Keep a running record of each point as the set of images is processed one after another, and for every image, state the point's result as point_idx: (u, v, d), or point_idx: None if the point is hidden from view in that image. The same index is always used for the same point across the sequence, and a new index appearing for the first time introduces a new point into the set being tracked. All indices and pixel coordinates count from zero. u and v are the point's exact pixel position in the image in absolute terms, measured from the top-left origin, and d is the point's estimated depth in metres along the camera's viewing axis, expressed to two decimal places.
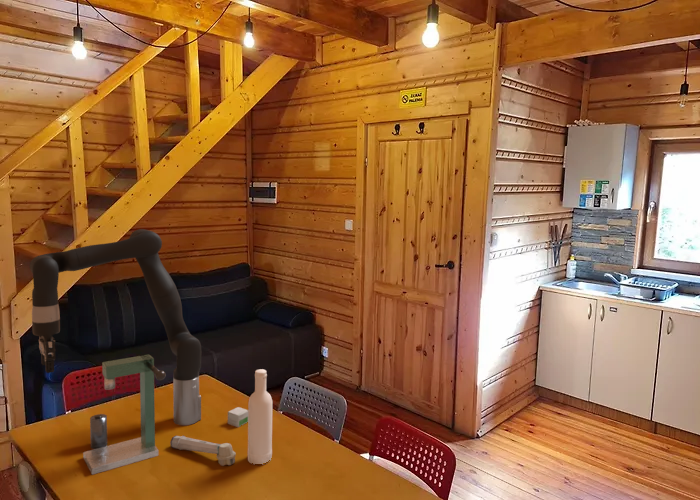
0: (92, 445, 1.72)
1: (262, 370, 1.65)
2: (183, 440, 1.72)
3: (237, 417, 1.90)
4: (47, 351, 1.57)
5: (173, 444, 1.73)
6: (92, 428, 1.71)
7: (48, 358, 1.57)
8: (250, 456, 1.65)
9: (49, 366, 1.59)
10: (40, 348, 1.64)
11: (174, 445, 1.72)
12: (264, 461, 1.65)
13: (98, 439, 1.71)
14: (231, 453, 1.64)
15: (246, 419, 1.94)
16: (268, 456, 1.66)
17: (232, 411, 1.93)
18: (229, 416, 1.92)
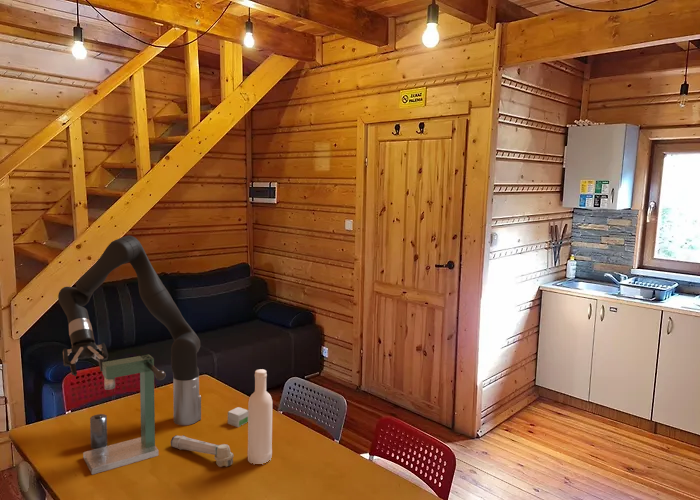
0: (92, 445, 1.72)
1: (262, 370, 1.65)
2: (183, 440, 1.72)
3: (237, 417, 1.90)
4: (63, 358, 1.81)
5: (173, 444, 1.73)
6: (92, 428, 1.71)
7: (64, 363, 1.79)
8: (250, 456, 1.65)
9: (71, 370, 1.79)
10: (93, 358, 1.86)
11: (174, 445, 1.73)
12: (264, 461, 1.65)
13: (98, 439, 1.71)
14: (229, 454, 1.64)
15: (246, 419, 1.94)
16: (268, 456, 1.66)
17: (232, 411, 1.93)
18: (229, 416, 1.92)
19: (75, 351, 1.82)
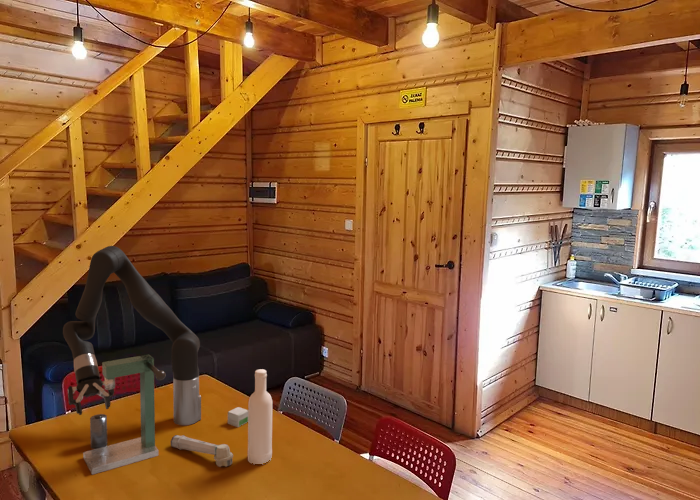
0: (92, 445, 1.72)
1: (262, 370, 1.65)
2: (183, 440, 1.72)
3: (237, 417, 1.90)
4: (68, 396, 1.77)
5: (173, 443, 1.73)
6: (92, 428, 1.71)
7: None
8: (250, 456, 1.65)
9: (76, 409, 1.75)
10: (99, 395, 1.83)
11: (174, 444, 1.73)
12: (264, 461, 1.65)
13: (98, 439, 1.71)
14: (228, 454, 1.64)
15: (246, 419, 1.94)
16: (268, 456, 1.66)
17: (232, 411, 1.93)
18: (229, 416, 1.92)
19: (80, 389, 1.79)
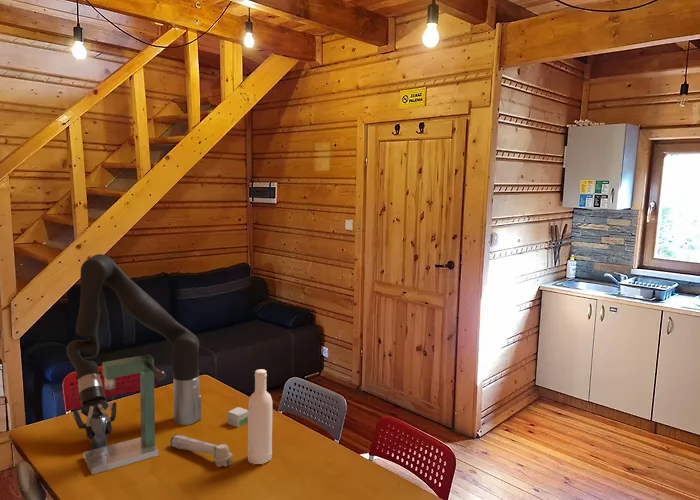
0: (92, 445, 1.72)
1: (262, 370, 1.65)
2: (182, 440, 1.72)
3: (237, 417, 1.90)
4: None
5: (173, 443, 1.73)
6: (92, 428, 1.71)
7: (78, 426, 1.71)
8: (250, 456, 1.65)
9: (86, 433, 1.71)
10: None
11: (174, 444, 1.73)
12: (264, 461, 1.65)
13: (98, 439, 1.71)
14: (228, 455, 1.63)
15: (246, 419, 1.94)
16: (268, 456, 1.66)
17: (232, 411, 1.93)
18: (229, 416, 1.92)
19: (86, 410, 1.74)
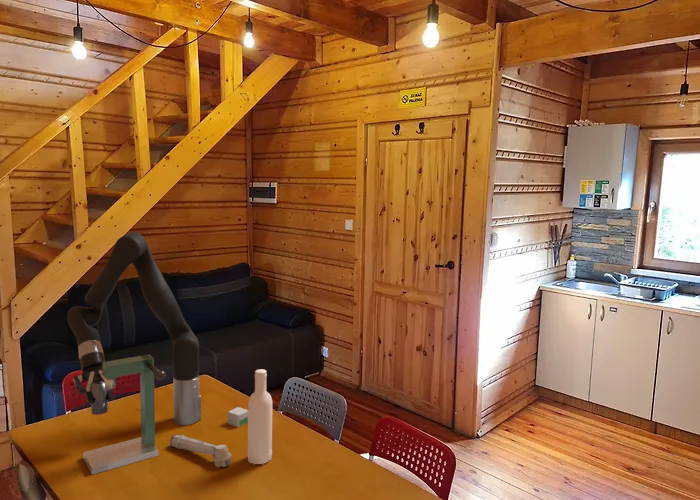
0: (92, 411, 1.69)
1: (262, 370, 1.65)
2: (182, 440, 1.72)
3: (237, 417, 1.90)
4: (76, 386, 1.70)
5: (172, 443, 1.73)
6: (92, 393, 1.68)
7: (79, 391, 1.69)
8: (250, 456, 1.65)
9: (86, 398, 1.68)
10: None
11: (173, 444, 1.73)
12: (264, 461, 1.65)
13: (98, 404, 1.69)
14: (226, 455, 1.63)
15: (246, 419, 1.94)
16: (268, 456, 1.66)
17: (232, 411, 1.93)
18: (229, 416, 1.92)
19: (86, 376, 1.71)
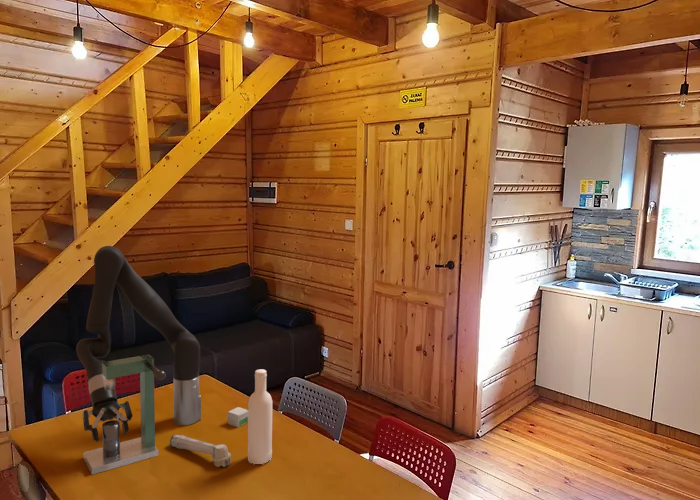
0: (104, 453, 1.63)
1: (262, 370, 1.65)
2: (182, 439, 1.72)
3: (237, 417, 1.90)
4: (83, 421, 1.63)
5: (172, 443, 1.73)
6: (104, 435, 1.62)
7: (84, 428, 1.62)
8: (250, 456, 1.65)
9: (92, 435, 1.61)
10: (116, 419, 1.69)
11: (173, 444, 1.73)
12: (264, 461, 1.65)
13: (110, 446, 1.62)
14: (226, 455, 1.63)
15: (246, 419, 1.94)
16: (268, 456, 1.66)
17: (232, 411, 1.93)
18: (229, 416, 1.92)
19: (96, 413, 1.65)
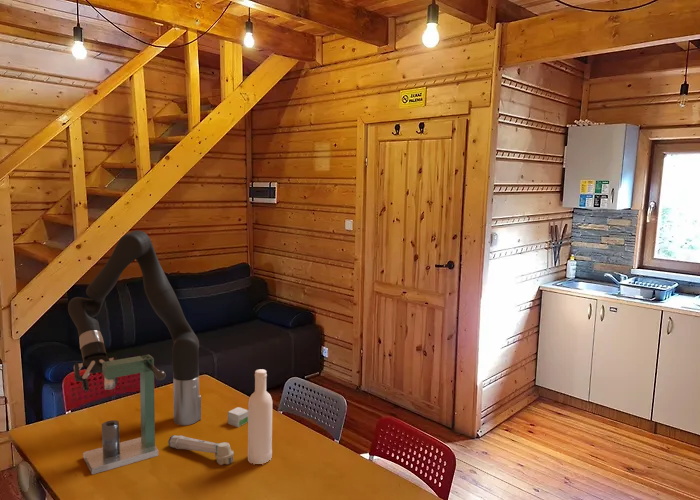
0: (104, 453, 1.63)
1: (262, 370, 1.65)
2: (181, 439, 1.72)
3: (237, 417, 1.90)
4: (74, 373, 1.73)
5: (171, 444, 1.73)
6: (104, 435, 1.62)
7: (75, 378, 1.72)
8: (250, 456, 1.65)
9: (82, 385, 1.71)
10: None
11: (172, 445, 1.73)
12: (264, 461, 1.65)
13: (110, 447, 1.62)
14: (229, 452, 1.65)
15: (246, 419, 1.94)
16: (268, 456, 1.66)
17: (232, 411, 1.93)
18: (229, 416, 1.92)
19: (86, 365, 1.75)
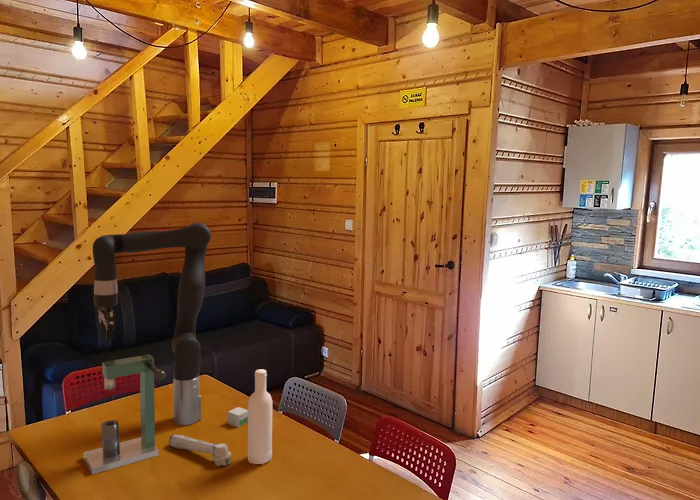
0: (104, 453, 1.63)
1: (262, 370, 1.65)
2: (181, 439, 1.72)
3: (237, 417, 1.90)
4: (109, 320, 1.76)
5: (171, 443, 1.73)
6: (104, 435, 1.62)
7: (109, 326, 1.77)
8: (250, 456, 1.65)
9: (109, 334, 1.78)
10: (100, 318, 1.84)
11: (172, 444, 1.73)
12: (264, 461, 1.65)
13: (110, 446, 1.62)
14: (226, 454, 1.64)
15: (246, 419, 1.94)
16: (268, 456, 1.66)
17: (232, 411, 1.93)
18: (229, 416, 1.92)
19: None
